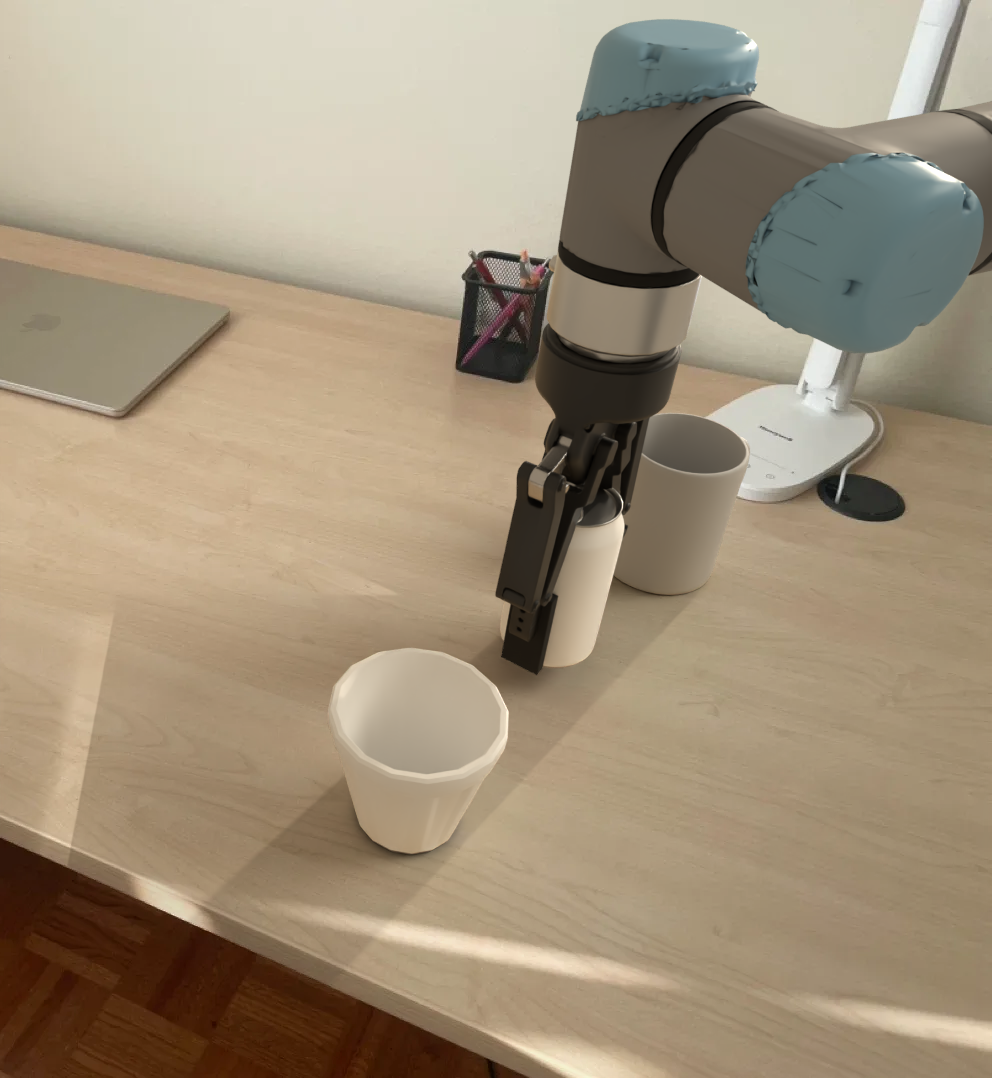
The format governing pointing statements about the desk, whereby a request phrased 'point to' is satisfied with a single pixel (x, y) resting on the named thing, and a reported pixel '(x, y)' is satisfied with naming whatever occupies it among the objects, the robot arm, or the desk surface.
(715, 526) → the mug
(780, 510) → the desk surface
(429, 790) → the cup
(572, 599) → the can
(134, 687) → the desk surface
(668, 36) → the robot arm
